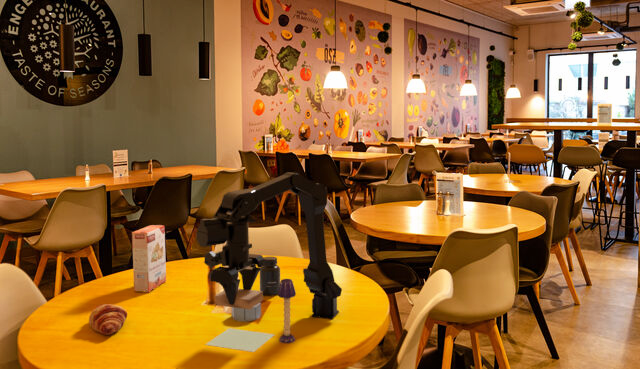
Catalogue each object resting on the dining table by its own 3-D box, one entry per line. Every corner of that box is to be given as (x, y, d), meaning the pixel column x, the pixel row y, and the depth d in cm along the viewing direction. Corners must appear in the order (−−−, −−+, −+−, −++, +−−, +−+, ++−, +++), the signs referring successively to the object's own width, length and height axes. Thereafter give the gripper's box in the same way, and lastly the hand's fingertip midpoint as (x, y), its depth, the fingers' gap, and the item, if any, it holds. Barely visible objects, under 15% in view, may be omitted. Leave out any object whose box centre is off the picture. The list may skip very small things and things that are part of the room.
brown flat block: (262, 300, 148) (262, 291, 148) (249, 309, 141) (249, 299, 141) (229, 296, 152) (229, 287, 151) (215, 305, 145) (214, 295, 144)
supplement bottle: (271, 297, 184) (270, 261, 182) (255, 293, 188) (254, 258, 187) (284, 292, 189) (284, 257, 188) (269, 288, 193) (268, 254, 192)
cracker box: (150, 293, 190) (147, 232, 188) (133, 292, 191) (130, 232, 189) (167, 281, 204) (165, 224, 201) (152, 280, 205) (149, 224, 202)
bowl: (264, 315, 167) (264, 300, 167) (252, 324, 160) (251, 309, 159) (241, 312, 170) (240, 298, 170) (227, 321, 163) (227, 306, 162)
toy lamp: (300, 341, 147) (299, 279, 145) (287, 347, 143) (286, 283, 141) (287, 337, 150) (286, 276, 148) (274, 342, 146) (273, 280, 144)
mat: (274, 336, 151) (274, 334, 151) (253, 353, 139) (253, 351, 139) (229, 329, 156) (229, 328, 156) (205, 346, 144) (205, 344, 144)
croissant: (96, 327, 169) (81, 306, 167) (126, 307, 172) (112, 286, 170) (100, 351, 150) (83, 328, 148) (134, 328, 153) (118, 305, 151)
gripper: (228, 232, 156) (230, 287, 158) (190, 246, 139) (192, 307, 140) (264, 234, 152) (266, 290, 154) (229, 249, 135) (231, 312, 136)
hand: (239, 299), depth 146 cm, fingers closed on brown flat block, 7 cm apart
